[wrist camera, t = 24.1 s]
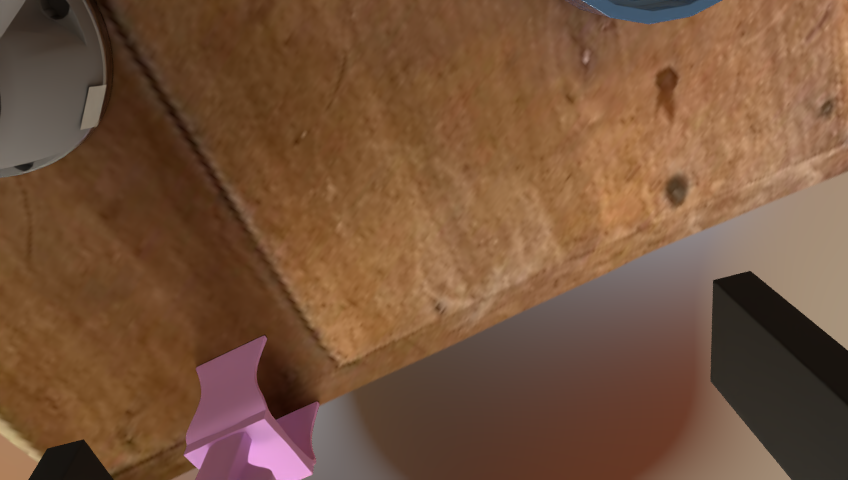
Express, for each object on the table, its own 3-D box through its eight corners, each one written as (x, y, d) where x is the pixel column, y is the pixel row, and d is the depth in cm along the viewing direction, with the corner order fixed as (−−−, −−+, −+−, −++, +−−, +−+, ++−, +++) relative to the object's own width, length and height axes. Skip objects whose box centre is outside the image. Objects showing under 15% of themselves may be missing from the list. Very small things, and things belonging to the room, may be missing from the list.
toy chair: (248, 440, 49) (209, 626, 35) (184, 372, 45) (113, 552, 31) (333, 402, 48) (325, 578, 34) (276, 329, 44) (242, 496, 30)
